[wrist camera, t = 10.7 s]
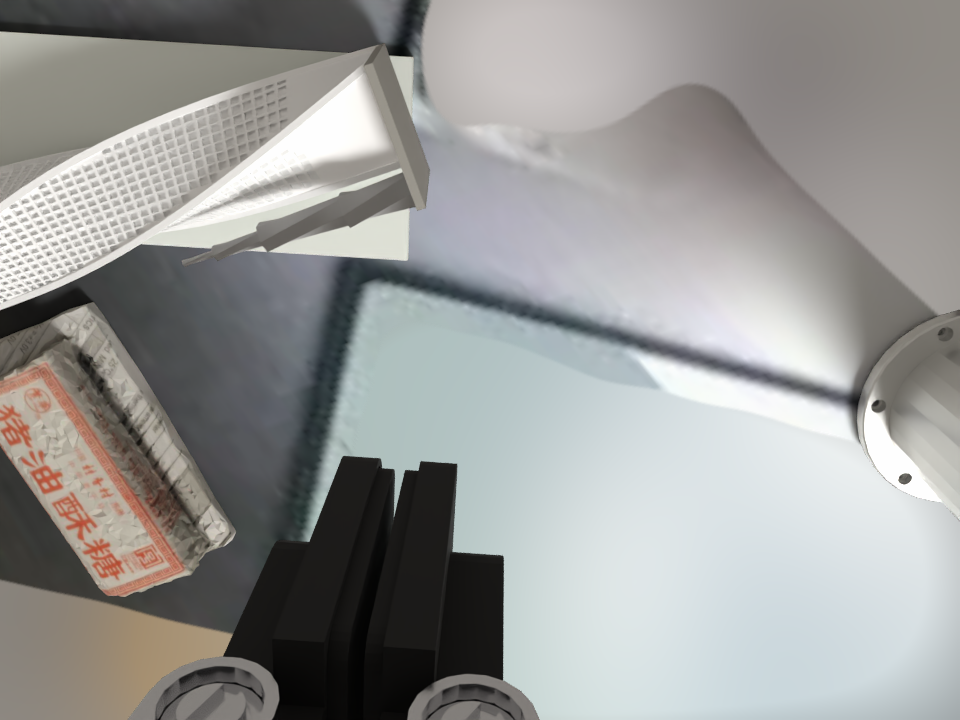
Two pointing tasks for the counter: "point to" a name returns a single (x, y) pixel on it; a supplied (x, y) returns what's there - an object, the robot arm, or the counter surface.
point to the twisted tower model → (217, 173)
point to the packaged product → (104, 454)
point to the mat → (154, 92)
